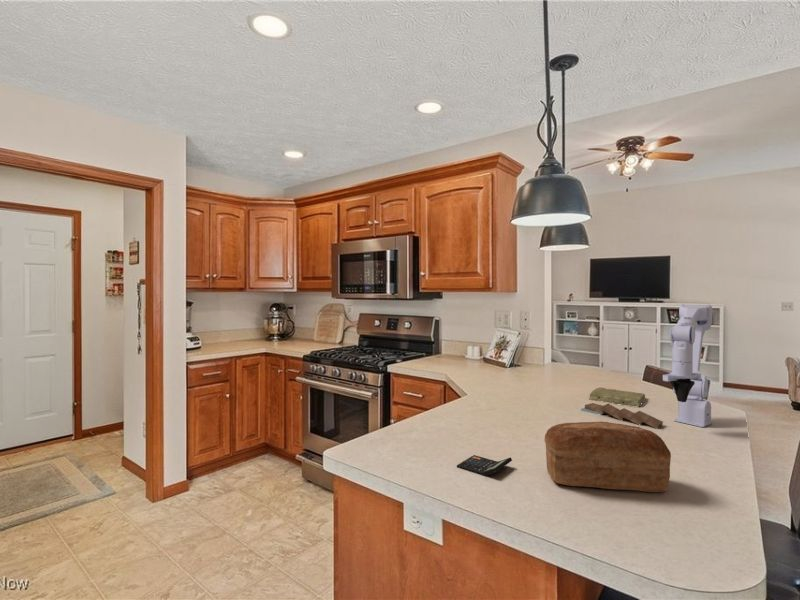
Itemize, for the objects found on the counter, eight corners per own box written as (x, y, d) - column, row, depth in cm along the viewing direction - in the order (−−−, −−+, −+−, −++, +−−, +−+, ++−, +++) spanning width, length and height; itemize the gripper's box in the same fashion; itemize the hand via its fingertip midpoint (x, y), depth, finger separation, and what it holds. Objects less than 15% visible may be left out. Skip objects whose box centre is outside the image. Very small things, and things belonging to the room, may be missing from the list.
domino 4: (646, 418, 150) (623, 408, 156) (641, 421, 147) (618, 410, 153) (645, 422, 151) (622, 411, 156) (640, 425, 147) (617, 414, 153)
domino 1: (606, 410, 163) (586, 406, 169) (600, 413, 160) (580, 408, 166) (606, 414, 163) (586, 410, 169) (600, 417, 160) (580, 412, 166)
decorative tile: (596, 393, 197) (596, 385, 197) (645, 400, 184) (645, 392, 184) (586, 401, 182) (587, 393, 182) (639, 409, 170) (639, 400, 170)
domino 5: (663, 421, 146) (639, 410, 152) (658, 424, 143) (634, 413, 149) (661, 425, 147) (638, 414, 152) (656, 428, 143) (633, 417, 149)
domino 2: (611, 407, 161) (593, 403, 169) (602, 409, 159) (584, 404, 166) (611, 411, 161) (593, 406, 169) (602, 413, 159) (584, 408, 166)
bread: (541, 468, 111) (541, 415, 111) (654, 476, 106) (655, 420, 106) (549, 489, 99) (550, 429, 99) (677, 499, 95) (678, 436, 94)
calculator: (473, 457, 119) (473, 447, 119) (512, 468, 111) (512, 457, 111) (456, 468, 111) (456, 457, 111) (496, 480, 104) (496, 469, 104)
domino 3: (628, 414, 155) (608, 403, 161) (623, 417, 152) (602, 405, 158) (627, 418, 156) (606, 407, 161) (621, 421, 152) (601, 409, 158)
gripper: (687, 358, 146) (687, 397, 146) (655, 360, 142) (654, 399, 142) (707, 361, 139) (706, 402, 139) (673, 363, 135) (673, 405, 135)
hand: (681, 401), depth 140 cm, fingers closed
